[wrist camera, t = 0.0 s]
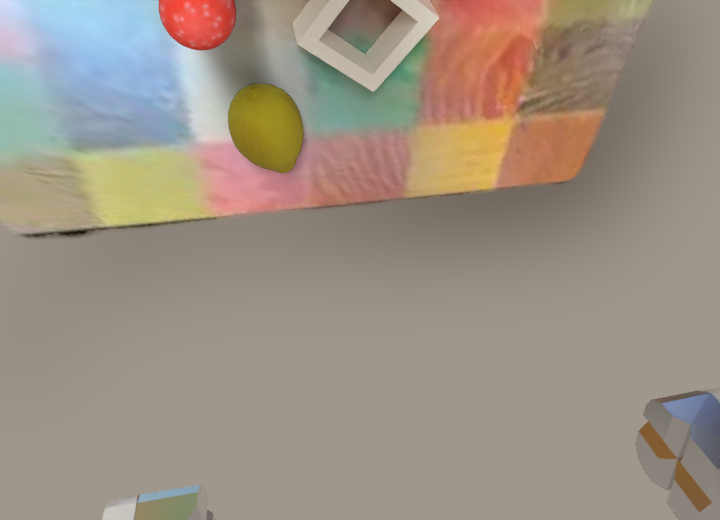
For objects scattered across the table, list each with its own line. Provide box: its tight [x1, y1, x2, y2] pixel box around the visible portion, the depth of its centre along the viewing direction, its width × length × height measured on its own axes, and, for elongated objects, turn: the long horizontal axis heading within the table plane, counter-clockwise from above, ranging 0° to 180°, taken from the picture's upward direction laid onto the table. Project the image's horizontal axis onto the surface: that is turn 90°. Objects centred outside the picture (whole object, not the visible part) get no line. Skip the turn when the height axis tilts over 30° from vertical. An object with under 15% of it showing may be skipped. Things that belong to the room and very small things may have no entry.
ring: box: [292, 0, 439, 92], centre depth 57 cm, size 10×10×4 cm
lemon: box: [228, 84, 303, 173], centre depth 63 cm, size 11×8×8 cm
